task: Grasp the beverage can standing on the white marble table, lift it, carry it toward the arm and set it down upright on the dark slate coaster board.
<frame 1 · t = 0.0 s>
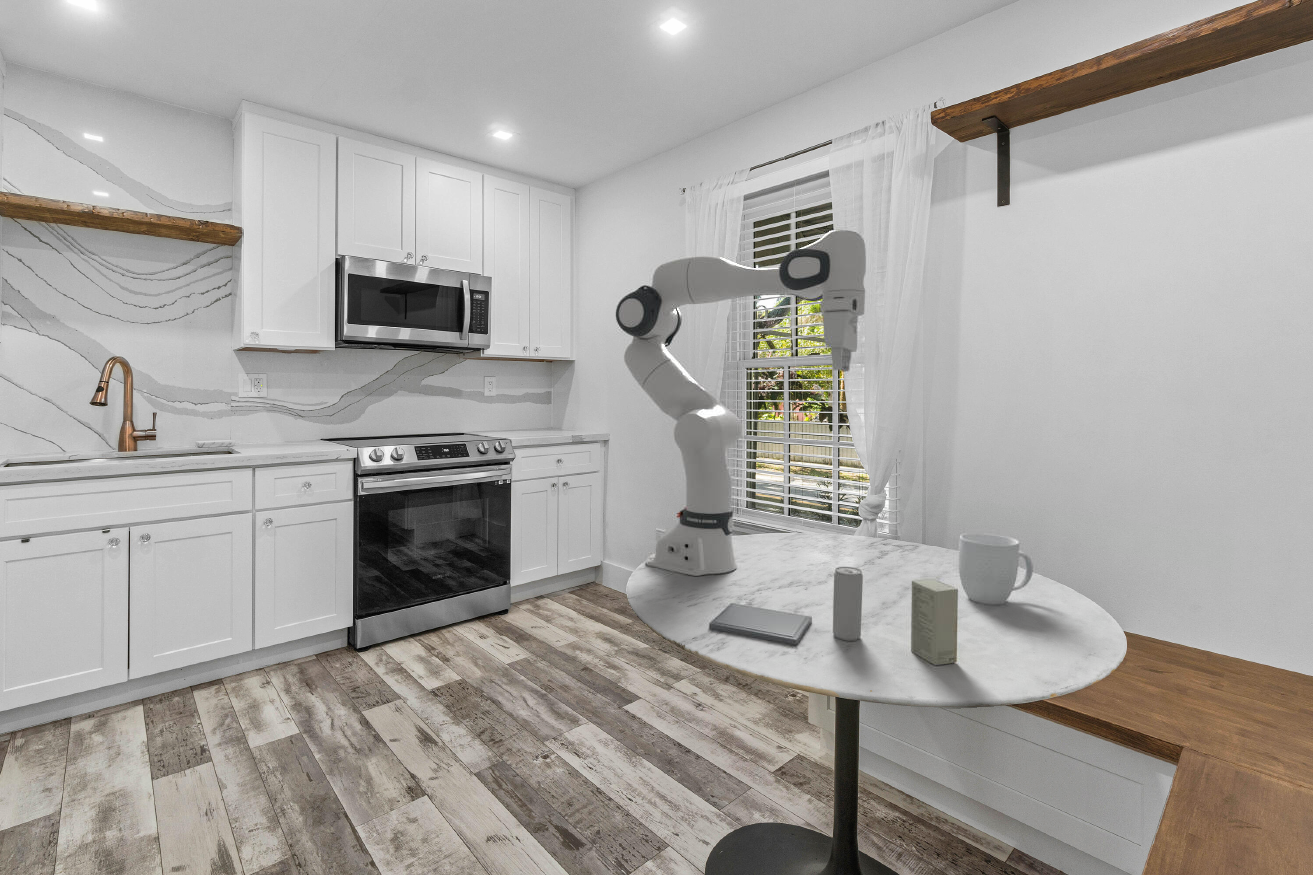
hand: (841, 370, 134), 48 cm above the table, fingers open, 8 cm apart
skincare box: (932, 657, 100), on the table
beverage can: (846, 637, 108), on the table
mug: (990, 600, 128), on the table
slate coaster: (761, 625, 113), on the table
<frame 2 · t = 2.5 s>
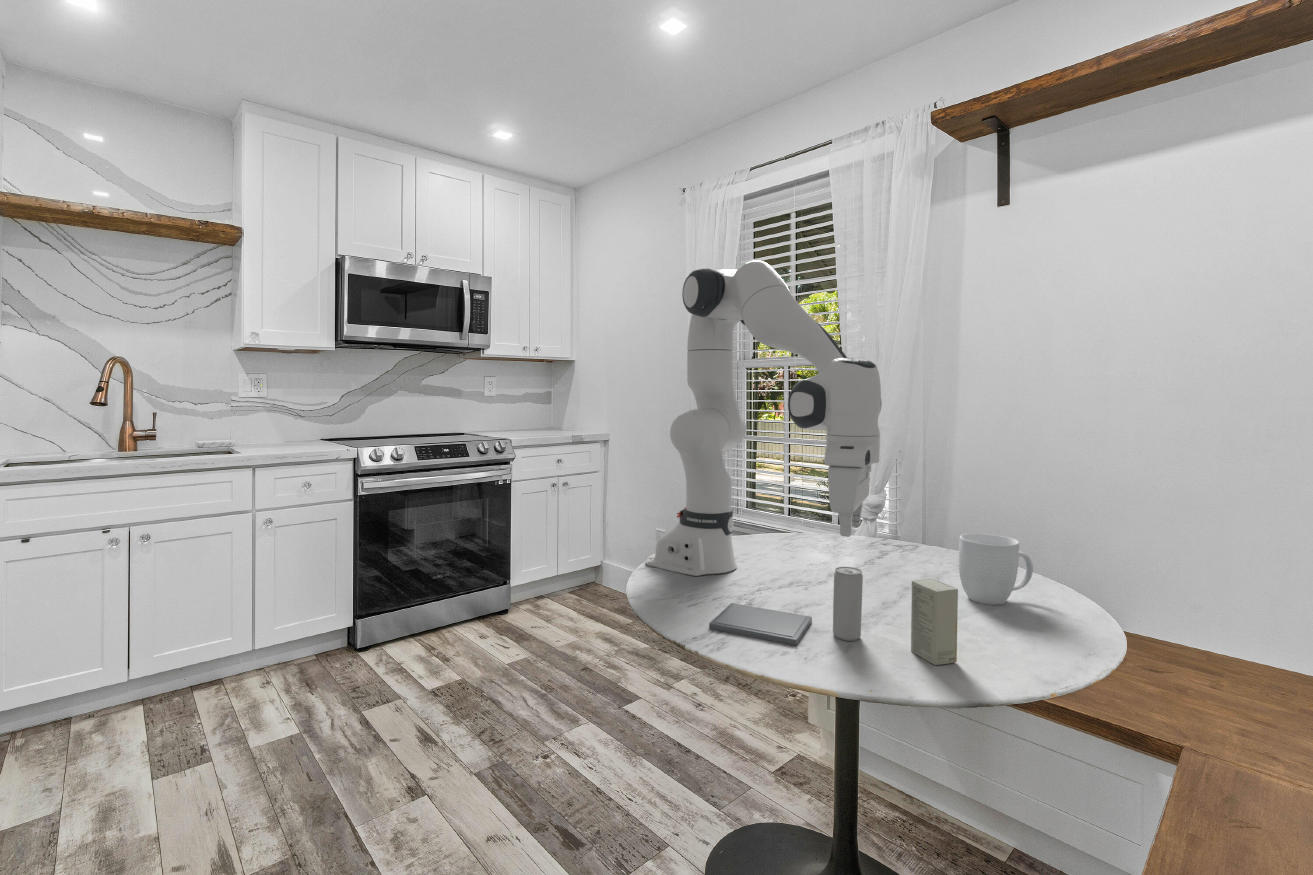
hand: (850, 530, 107), 19 cm above the table, fingers open, 8 cm apart
nothing on the table moved.
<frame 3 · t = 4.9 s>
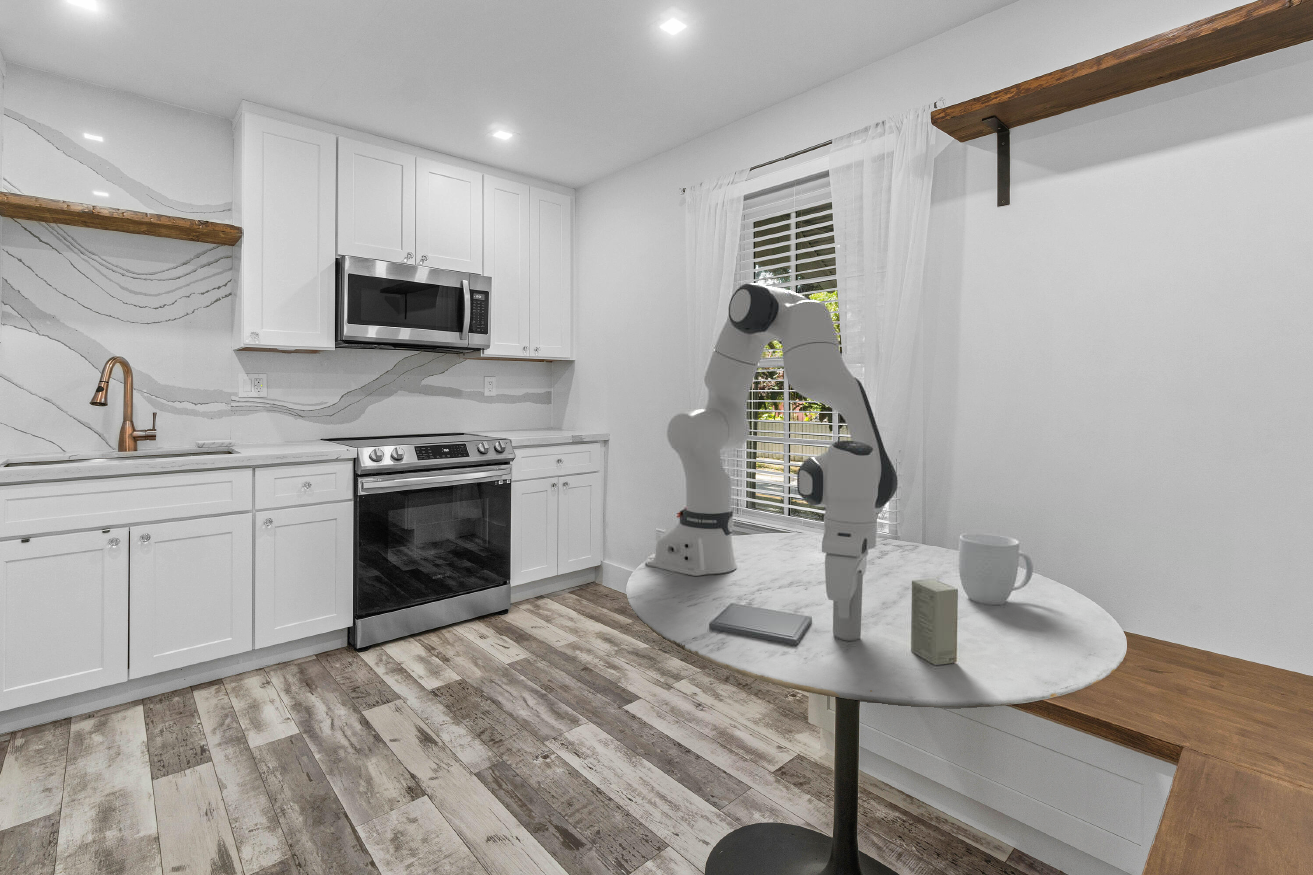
hand: (847, 611, 108), 5 cm above the table, fingers closed on beverage can, 5 cm apart
beverage can: (846, 637, 108), on the table, touching gripper
everything else where it was.
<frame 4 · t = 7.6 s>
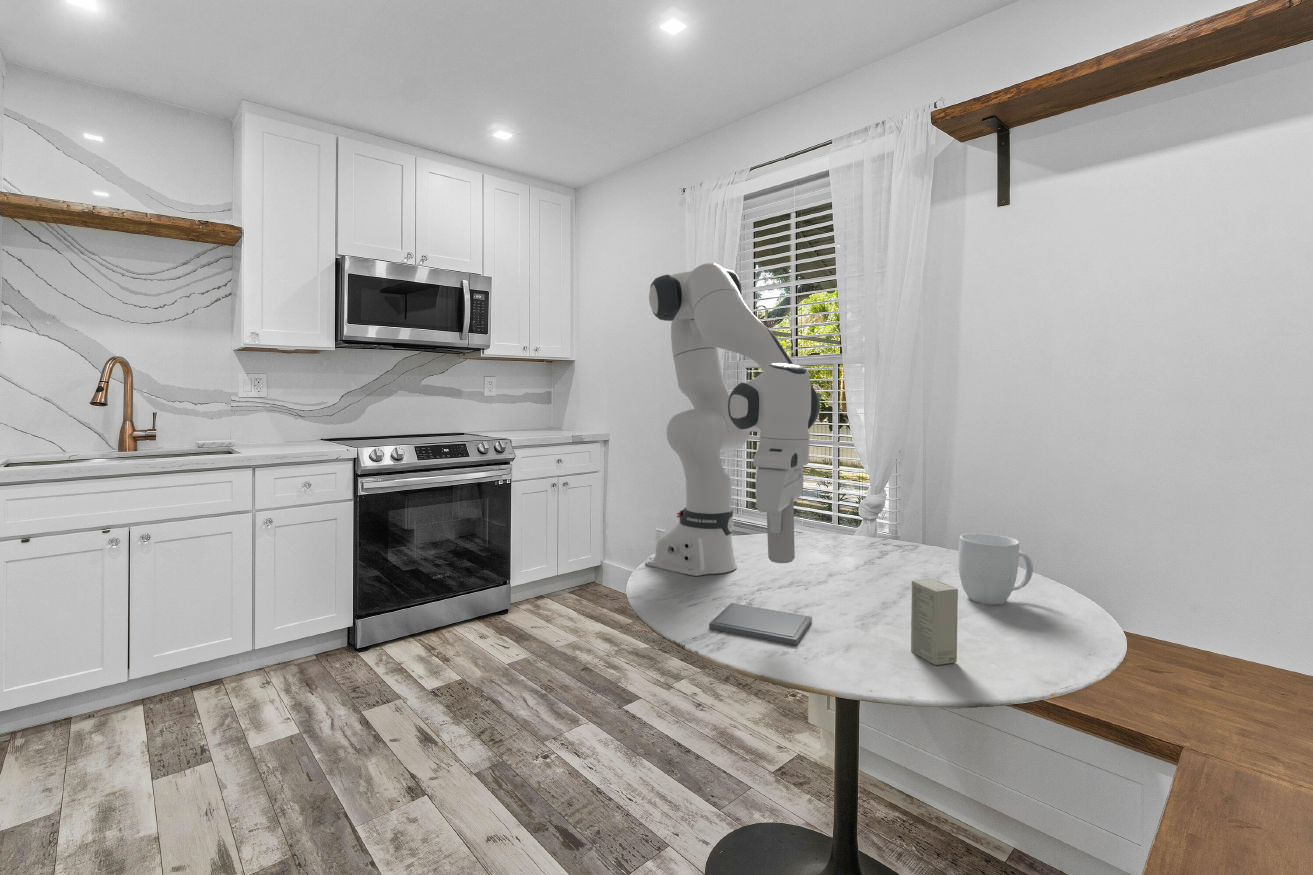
hand: (780, 528, 111), 18 cm above the table, fingers closed on beverage can, 5 cm apart
beverage can: (781, 561, 112), point 12 cm above the table, touching gripper
everything else where it was.
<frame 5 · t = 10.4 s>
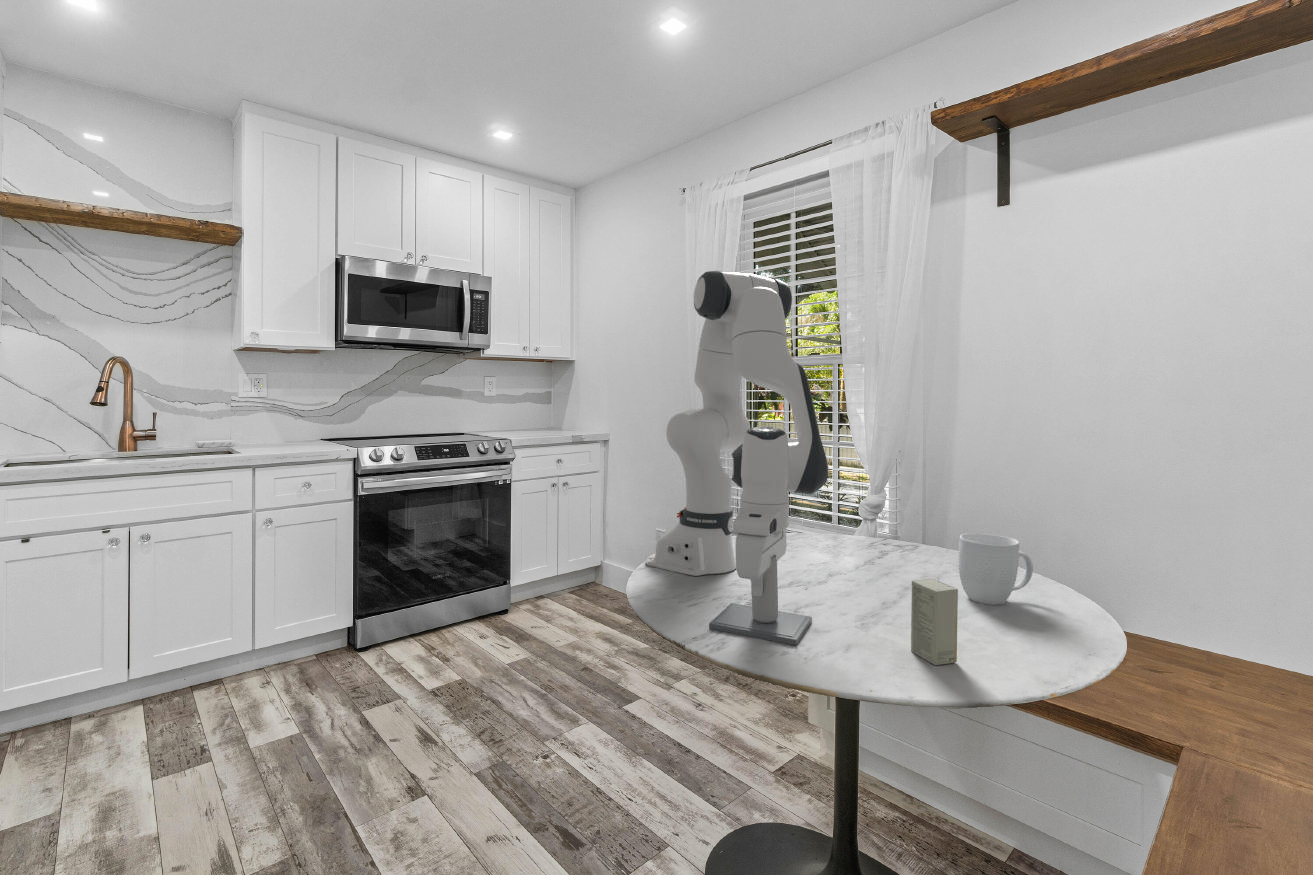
hand: (762, 589, 113), 7 cm above the table, fingers closed on beverage can, 5 cm apart
beverage can: (765, 620, 113), point 1 cm above the table, touching gripper, slate coaster
everything else where it was.
when the fingers open (7 cm above the table, at t = 11.1 s): beverage can stays where it is, resting on slate coaster.
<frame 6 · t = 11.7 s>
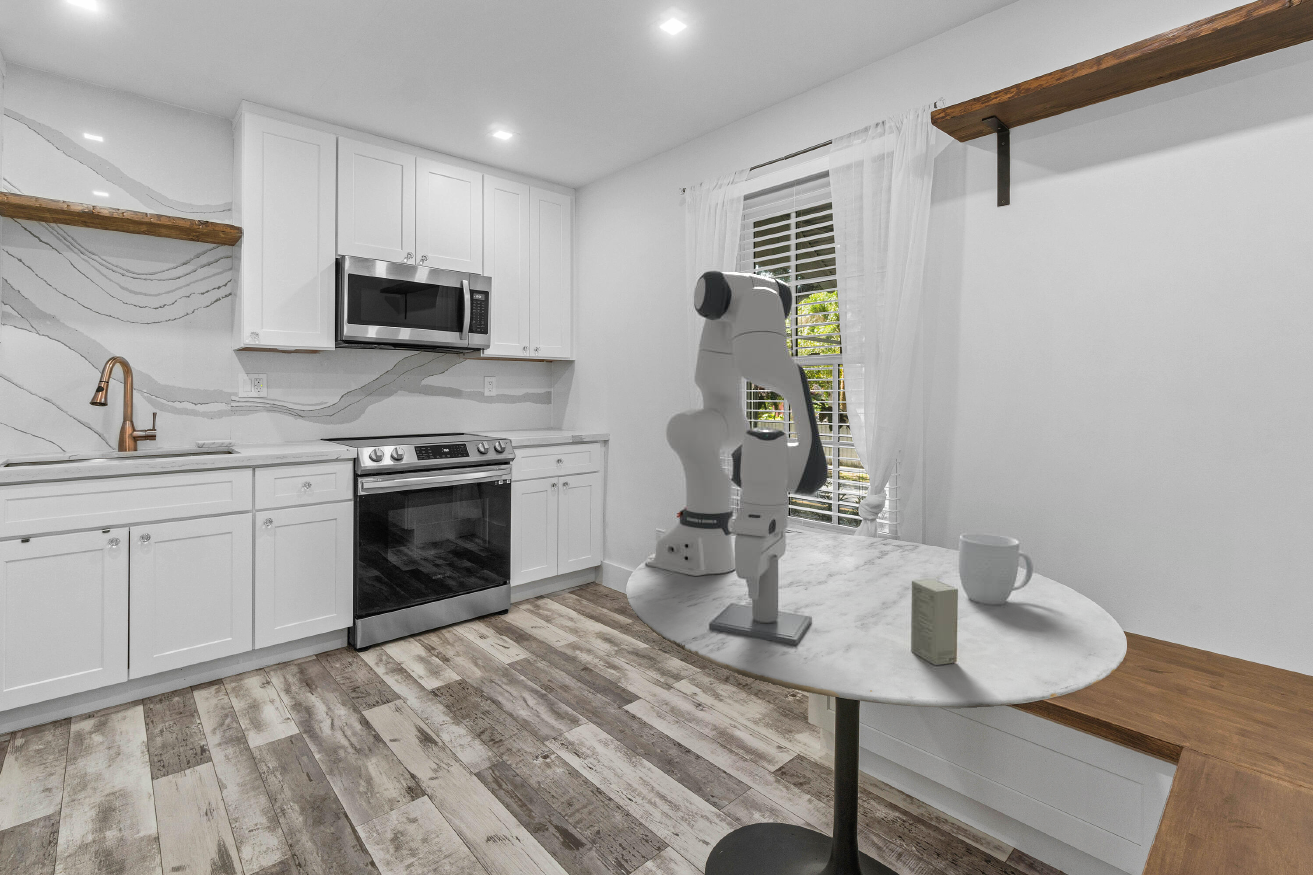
hand: (762, 590, 113), 7 cm above the table, fingers open, 8 cm apart
beverage can: (765, 620, 113), point 1 cm above the table, touching slate coaster
everything else where it was.
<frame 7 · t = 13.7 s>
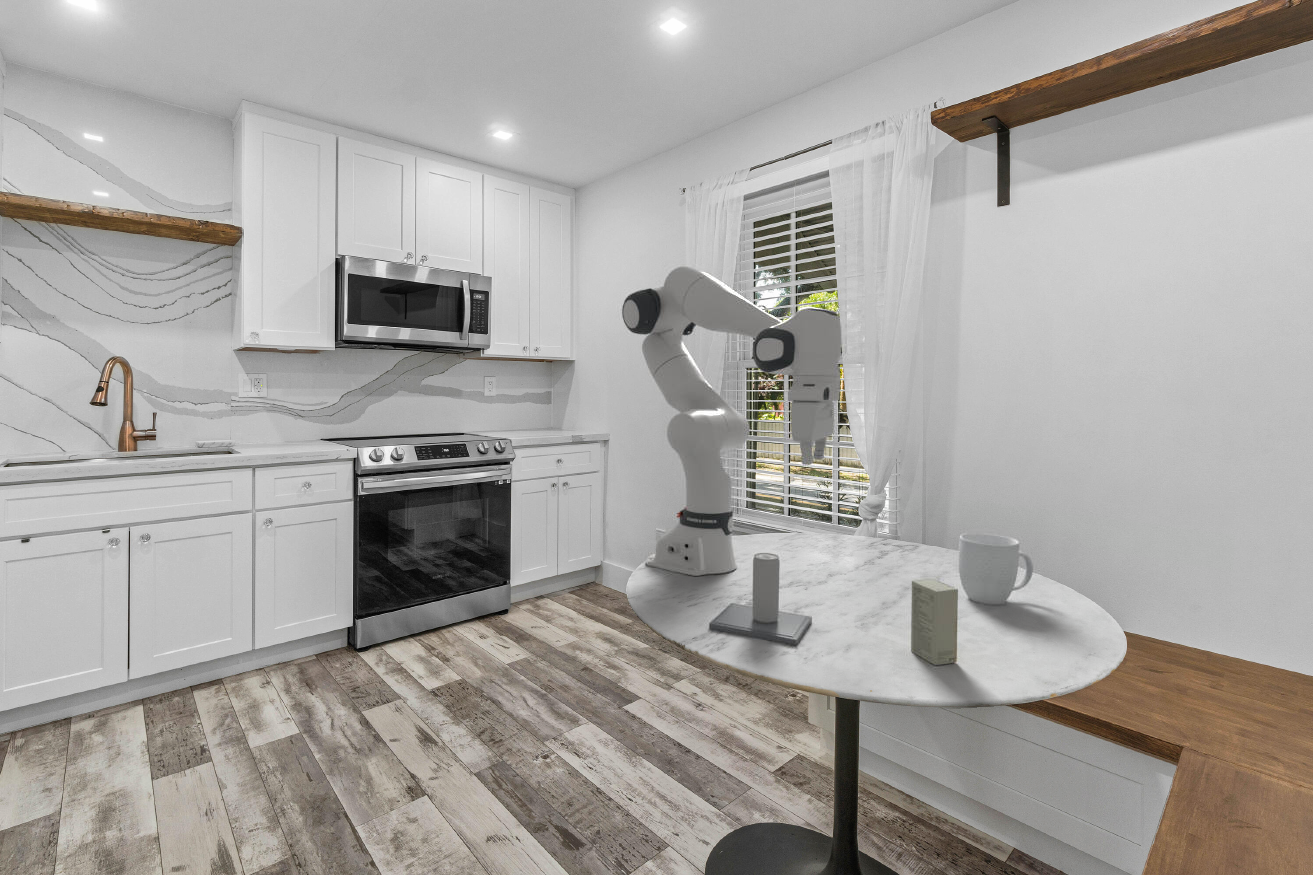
hand: (813, 461, 120), 30 cm above the table, fingers open, 8 cm apart
nothing on the table moved.
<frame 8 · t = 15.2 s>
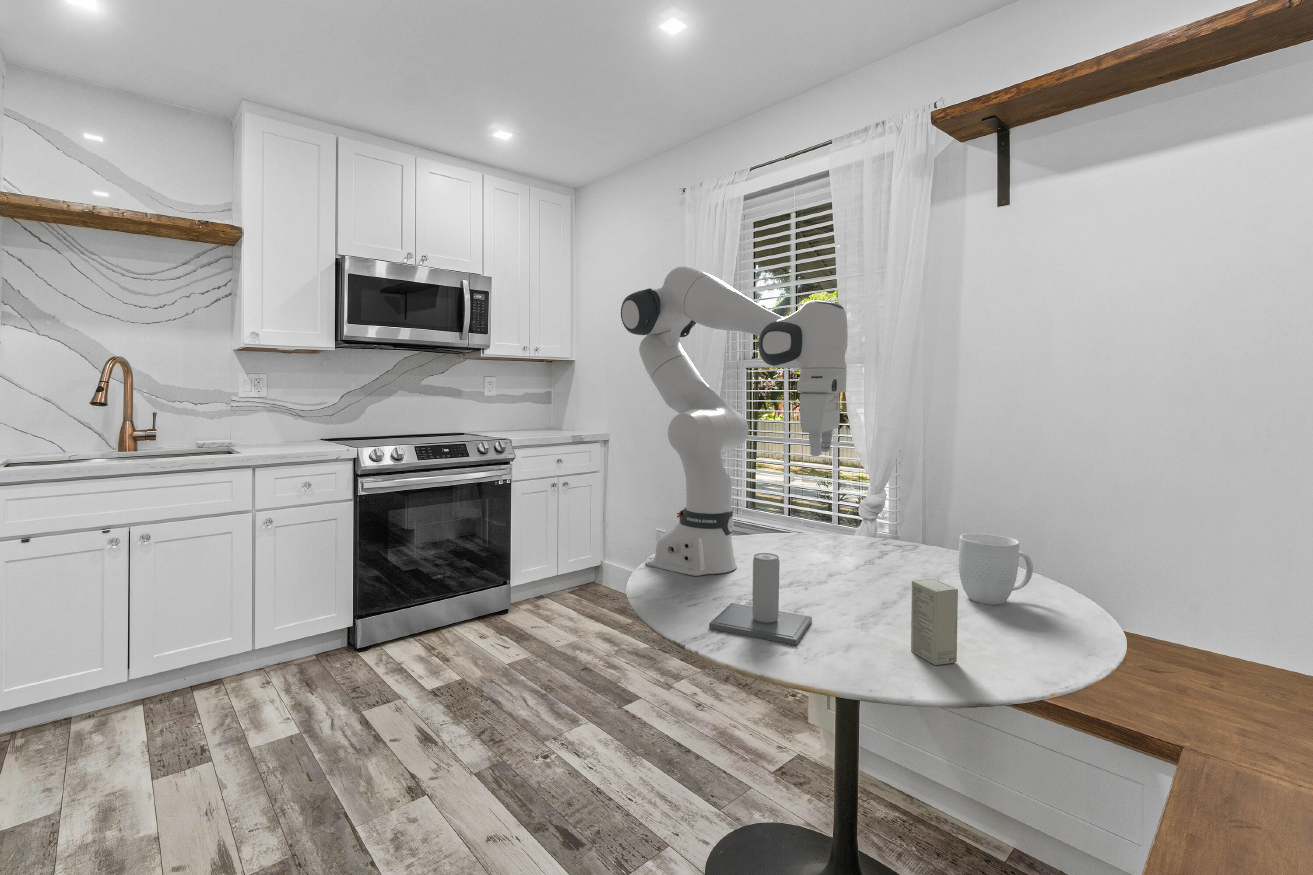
hand: (820, 453, 121), 31 cm above the table, fingers open, 8 cm apart
nothing on the table moved.
at the end: beverage can 0.7 cm from the slate coaster (horizontally); beverage can tilted 0°; the gripper is holding nothing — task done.
